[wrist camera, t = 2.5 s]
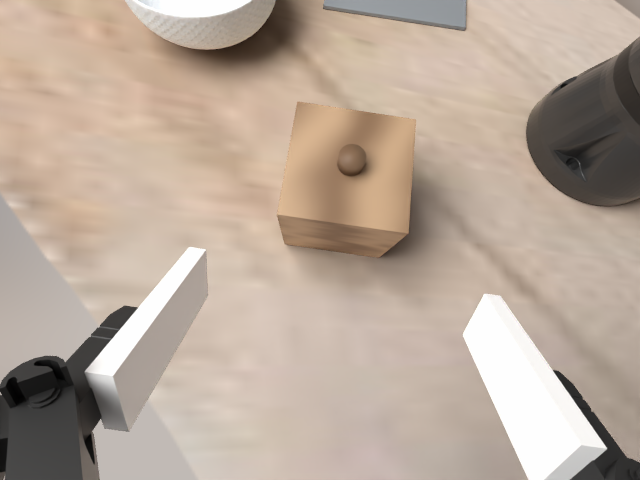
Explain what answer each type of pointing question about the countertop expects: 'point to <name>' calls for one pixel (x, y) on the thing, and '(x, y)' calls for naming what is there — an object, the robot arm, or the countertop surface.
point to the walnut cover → (347, 180)
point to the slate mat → (408, 10)
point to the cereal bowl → (203, 20)
